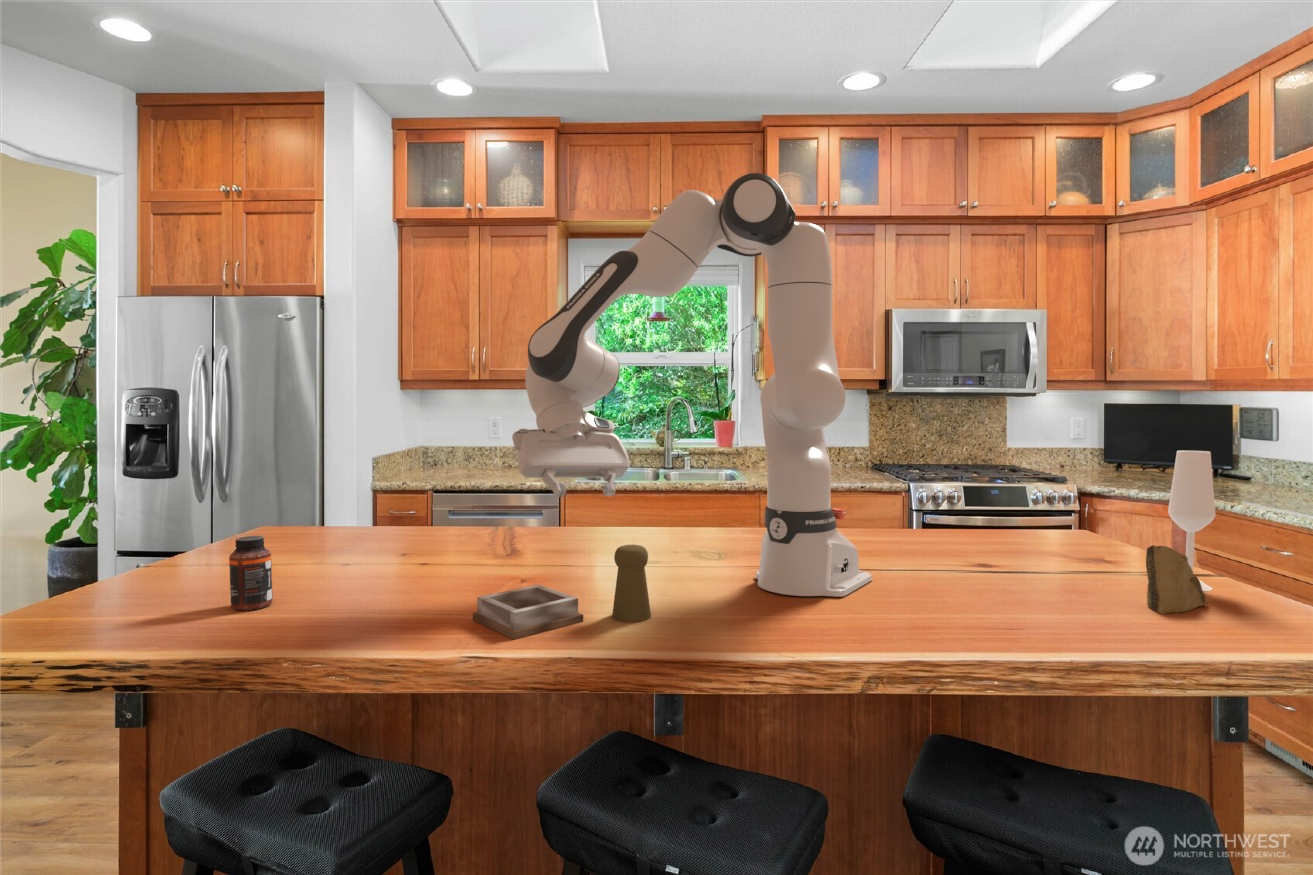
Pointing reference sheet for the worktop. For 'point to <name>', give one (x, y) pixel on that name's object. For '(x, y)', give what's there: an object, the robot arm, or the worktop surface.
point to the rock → (1171, 582)
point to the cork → (631, 585)
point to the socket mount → (527, 611)
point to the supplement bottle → (250, 574)
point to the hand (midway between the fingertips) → (586, 494)
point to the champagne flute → (1192, 497)
